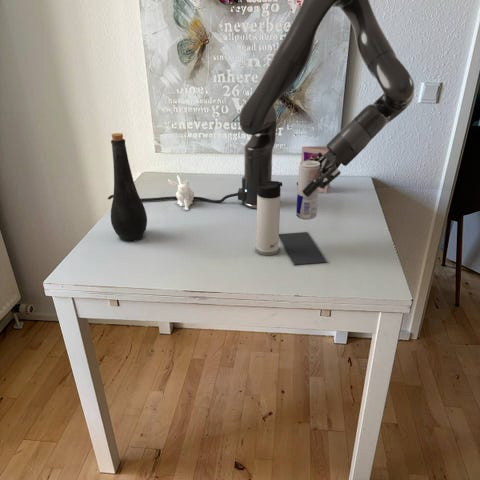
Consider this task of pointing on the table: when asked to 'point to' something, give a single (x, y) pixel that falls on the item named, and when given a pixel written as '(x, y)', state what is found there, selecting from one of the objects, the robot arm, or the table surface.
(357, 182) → the table surface
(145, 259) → the table surface
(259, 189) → the travel mug
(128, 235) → the bottle
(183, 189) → the rabbit figurine
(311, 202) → the beverage can
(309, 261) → the mat
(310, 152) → the greeting card
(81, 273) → the table surface
